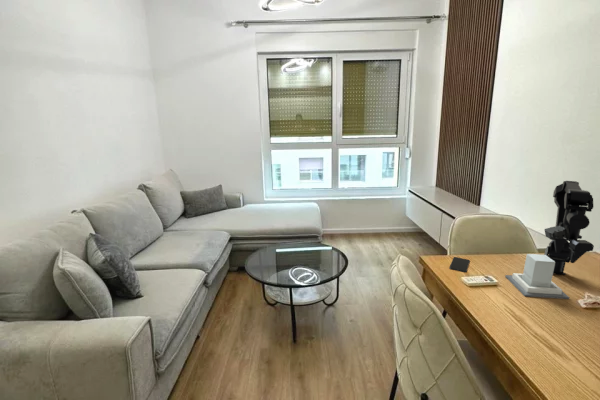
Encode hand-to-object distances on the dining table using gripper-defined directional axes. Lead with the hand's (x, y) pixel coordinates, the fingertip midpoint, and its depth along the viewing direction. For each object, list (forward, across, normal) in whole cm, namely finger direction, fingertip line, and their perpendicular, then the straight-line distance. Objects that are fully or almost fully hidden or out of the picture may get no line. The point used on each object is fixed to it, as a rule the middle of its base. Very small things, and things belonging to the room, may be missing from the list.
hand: (564, 257), depth 129 cm
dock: (+13, +2, -10) cm, 16 cm away
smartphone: (+14, -16, -34) cm, 40 cm away
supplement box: (+12, +2, -10) cm, 16 cm away
